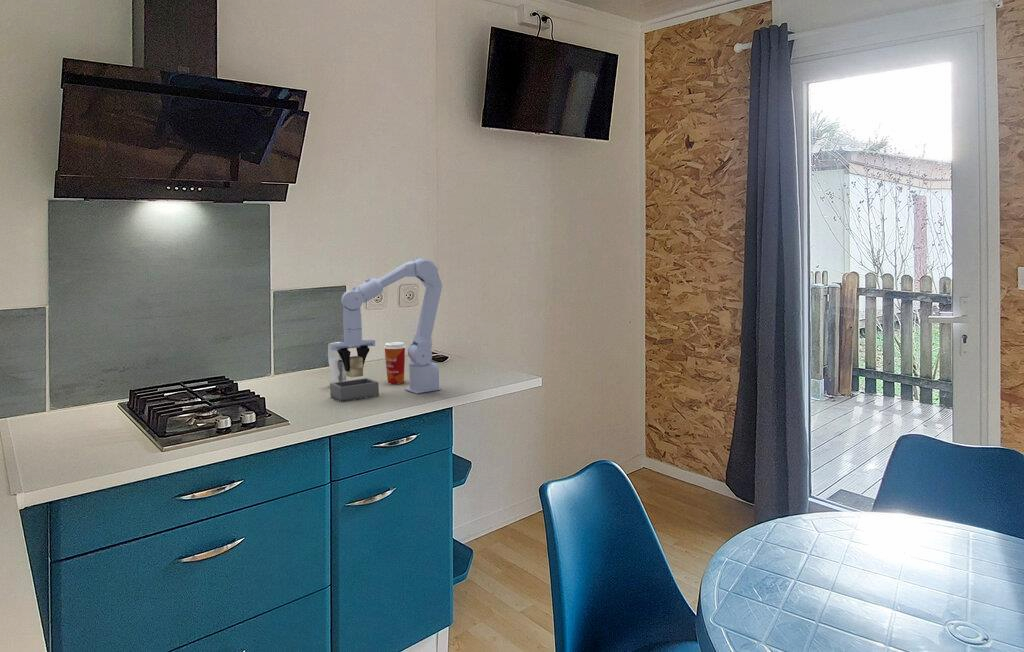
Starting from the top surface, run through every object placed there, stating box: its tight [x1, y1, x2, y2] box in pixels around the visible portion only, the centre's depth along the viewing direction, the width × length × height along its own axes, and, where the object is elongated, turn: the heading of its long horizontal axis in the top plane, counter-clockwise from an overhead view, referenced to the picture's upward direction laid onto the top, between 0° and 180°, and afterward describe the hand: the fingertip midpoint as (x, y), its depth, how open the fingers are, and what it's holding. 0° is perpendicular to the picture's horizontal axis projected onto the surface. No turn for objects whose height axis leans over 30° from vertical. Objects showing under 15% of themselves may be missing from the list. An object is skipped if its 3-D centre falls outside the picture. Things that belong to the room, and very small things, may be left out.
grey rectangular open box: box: [329, 377, 380, 403], centre depth 222 cm, size 13×8×4 cm, turn 126°
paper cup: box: [383, 341, 406, 385], centre depth 241 cm, size 8×8×14 cm
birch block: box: [346, 355, 364, 378], centre depth 221 cm, size 4×4×6 cm
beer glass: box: [327, 341, 350, 383], centre depth 236 cm, size 7×7×15 cm
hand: (354, 370), depth 221 cm, fingers closed on birch block, 4 cm apart
